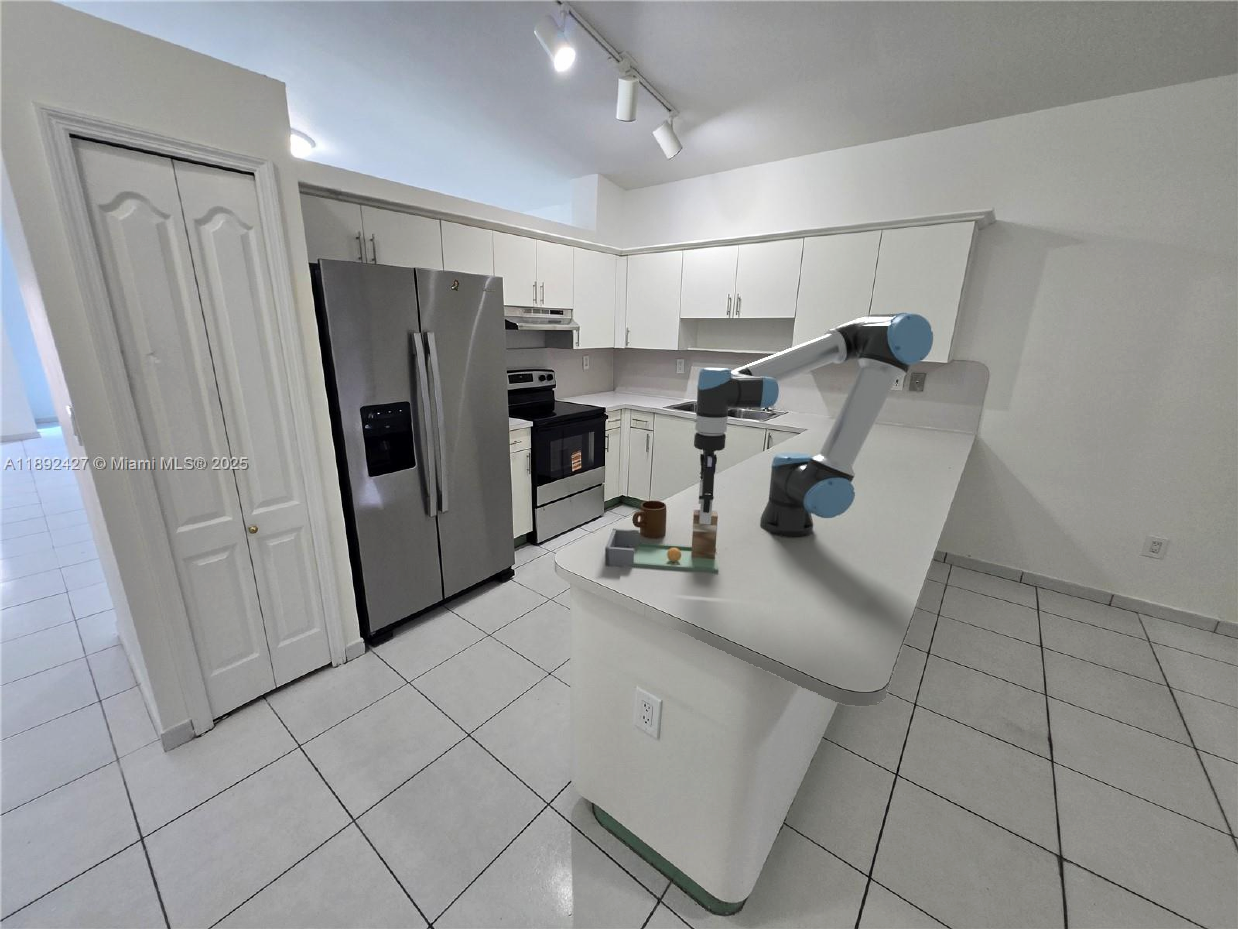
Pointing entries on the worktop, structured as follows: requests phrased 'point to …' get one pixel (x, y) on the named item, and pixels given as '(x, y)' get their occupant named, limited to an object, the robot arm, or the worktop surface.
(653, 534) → the mug
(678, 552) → the ball
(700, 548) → the block
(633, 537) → the pitch
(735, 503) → the worktop surface
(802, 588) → the worktop surface
